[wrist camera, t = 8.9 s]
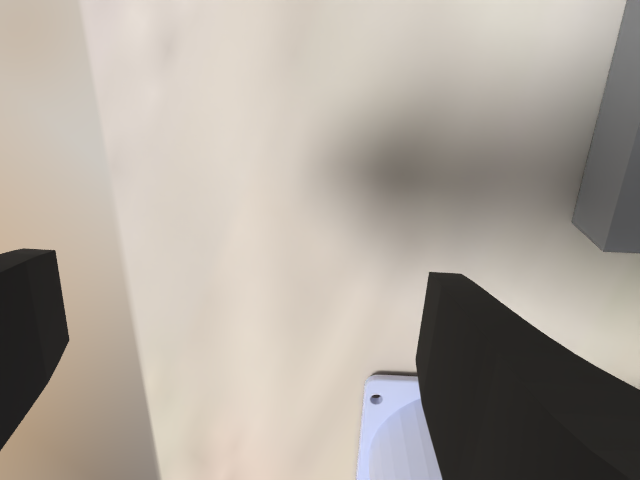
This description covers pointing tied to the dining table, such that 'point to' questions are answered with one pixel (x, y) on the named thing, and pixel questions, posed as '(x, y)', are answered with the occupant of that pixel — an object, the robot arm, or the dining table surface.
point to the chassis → (616, 151)
